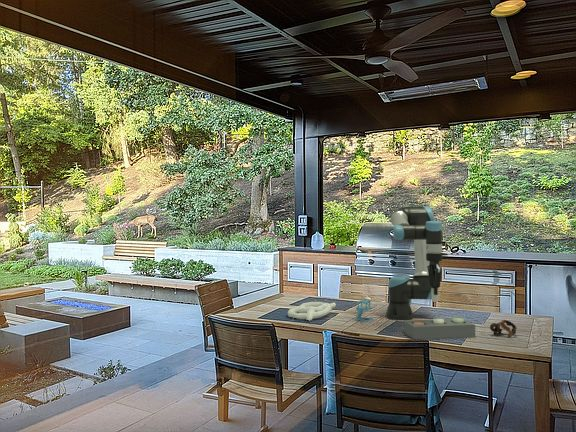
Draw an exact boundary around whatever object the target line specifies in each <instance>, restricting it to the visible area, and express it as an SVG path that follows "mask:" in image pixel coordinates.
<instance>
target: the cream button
mask: <svg viewBox="0 0 576 432" xmlns="http://www.w3.org/2000/svg"><path fill="white" fill-rule="evenodd" d="M444 319H445V318H439V317H437V318H433V319H432V320H433V323H434V324H444Z"/></svg>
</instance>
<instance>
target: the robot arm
mask: <svg viewBox="0 0 576 432" xmlns="http://www.w3.org/2000/svg"><path fill="white" fill-rule="evenodd" d="M389 219H390V223H391V224H392V226H393V228H392V229H393V230H392V234H393V239H394V240H396V241H412V240H413V245H414V247H413V248H414V250H413V251H414V269H415V270H414V271H415V272H414V274H412V278H410V276H408V275H402V276H401V275H400V276H393V277H391V278H390V279H389V280H388V286H387V287H388V306H387V309H386V313H385V317H386V319H389V320H395V321H396V320H397V321H398V320H399V321H407V320H413V318H414V312H413V310H412V307H411V303H410V300H431V302H432V303H434V302H435V303H437V302H439V288H440V287H441V279H442V271H443V269H442V267H440V266H441V265H440V262H441V261H443V238H442V237H443V231H442V230H443V225H442V224H443V223H442V222H441V221H440V220H439V221H438V220H435V217H434V212H433V209H432V207H430V206H426V205H425V206H424V205H420V206H419V205H417V206H416V205H415V206H413V205H412V206H401V207H398V208H396V209H395V210H393V211H392V212H391V214H390V217H389Z"/></svg>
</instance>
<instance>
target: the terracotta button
mask: <svg viewBox="0 0 576 432" xmlns="http://www.w3.org/2000/svg"><path fill="white" fill-rule="evenodd" d="M413 324H414V325H424V323H423V322H414V323H413Z"/></svg>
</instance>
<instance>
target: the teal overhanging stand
mask: <svg viewBox="0 0 576 432" xmlns="http://www.w3.org/2000/svg"><path fill="white" fill-rule="evenodd" d="M371 302H372V301H371V300H370V299H368V298H364V299H362V300H359V301H356V304H357V307H356V308H355V310H356V311H357V313H356V319H357V320H356V319H355V320H356V321H359V320H361V321H360V322H364V321H365V323H370V322H372V321H374V318H373V317H362V315H363V312H364V311H369V310H371V309H372V307H371ZM363 304H365V306H363ZM365 319H369V320H365ZM371 320H372V321H371ZM369 321H370V322H369Z"/></svg>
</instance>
